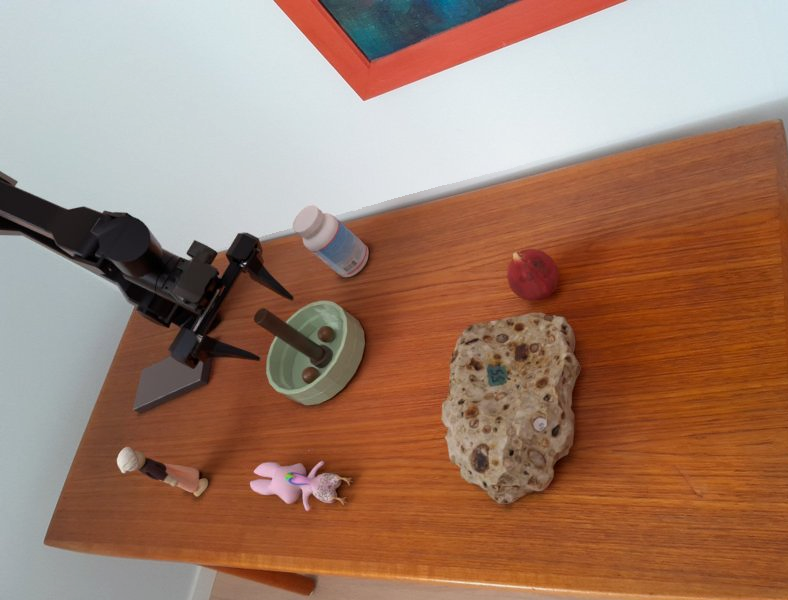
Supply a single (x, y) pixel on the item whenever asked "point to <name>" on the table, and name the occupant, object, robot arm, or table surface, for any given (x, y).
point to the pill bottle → (331, 241)
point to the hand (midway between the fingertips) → (276, 328)
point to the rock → (511, 403)
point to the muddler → (294, 338)
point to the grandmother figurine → (162, 471)
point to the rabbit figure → (297, 483)
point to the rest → (168, 382)
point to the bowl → (290, 362)
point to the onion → (532, 274)
